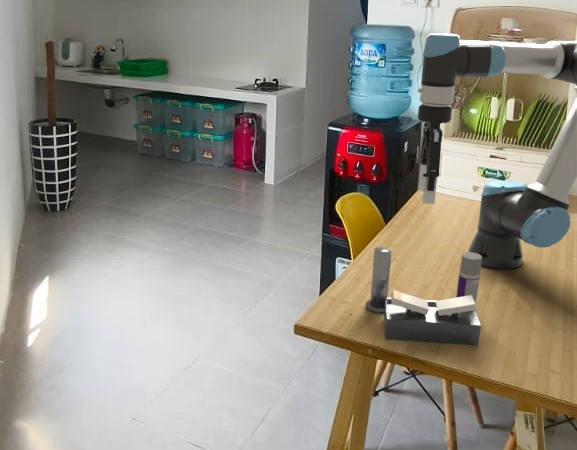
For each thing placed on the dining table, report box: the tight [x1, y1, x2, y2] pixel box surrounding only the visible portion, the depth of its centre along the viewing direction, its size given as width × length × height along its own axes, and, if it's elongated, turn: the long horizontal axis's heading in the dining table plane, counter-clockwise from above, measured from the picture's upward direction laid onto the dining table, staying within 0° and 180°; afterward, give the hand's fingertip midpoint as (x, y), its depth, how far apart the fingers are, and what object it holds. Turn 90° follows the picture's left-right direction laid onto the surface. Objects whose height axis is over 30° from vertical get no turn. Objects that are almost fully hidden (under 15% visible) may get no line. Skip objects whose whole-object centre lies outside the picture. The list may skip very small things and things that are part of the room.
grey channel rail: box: [383, 297, 482, 347], centre depth 143 cm, size 20×9×6 cm, turn 85°
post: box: [365, 246, 393, 315], centre depth 152 cm, size 6×6×15 cm
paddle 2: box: [435, 295, 477, 316], centre depth 141 cm, size 8×4×1 cm, turn 84°
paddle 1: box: [390, 289, 429, 315], centre depth 141 cm, size 8×4×2 cm, turn 86°
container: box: [455, 251, 482, 306], centre depth 150 cm, size 5×5×15 cm
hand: (425, 196), depth 154 cm, fingers open, 10 cm apart
